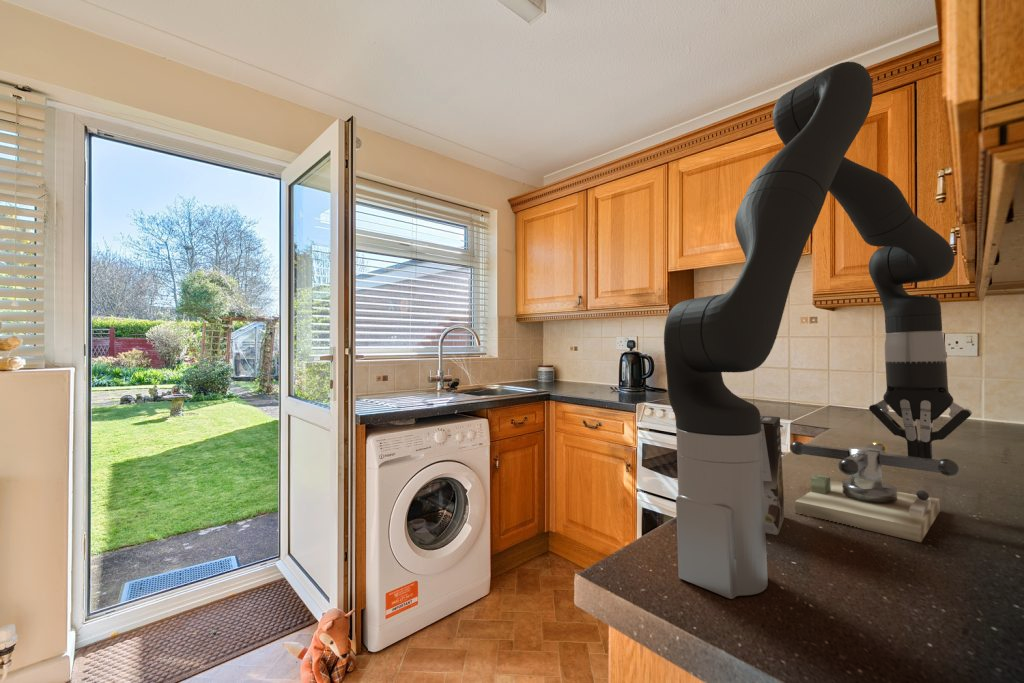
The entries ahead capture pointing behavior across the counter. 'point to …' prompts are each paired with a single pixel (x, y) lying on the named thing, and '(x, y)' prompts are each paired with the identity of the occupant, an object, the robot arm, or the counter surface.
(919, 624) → the counter surface
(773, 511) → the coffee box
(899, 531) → the stand
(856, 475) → the capstan
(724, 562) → the robot arm
